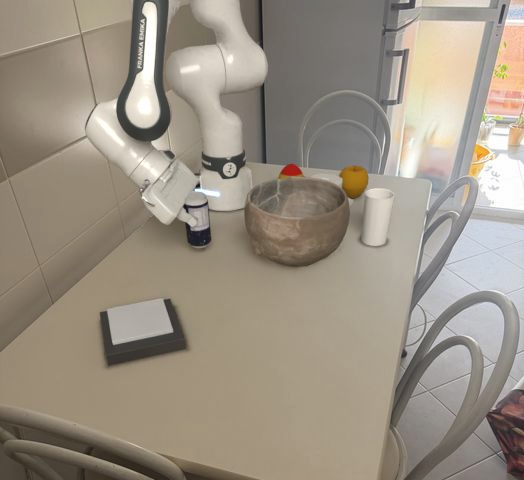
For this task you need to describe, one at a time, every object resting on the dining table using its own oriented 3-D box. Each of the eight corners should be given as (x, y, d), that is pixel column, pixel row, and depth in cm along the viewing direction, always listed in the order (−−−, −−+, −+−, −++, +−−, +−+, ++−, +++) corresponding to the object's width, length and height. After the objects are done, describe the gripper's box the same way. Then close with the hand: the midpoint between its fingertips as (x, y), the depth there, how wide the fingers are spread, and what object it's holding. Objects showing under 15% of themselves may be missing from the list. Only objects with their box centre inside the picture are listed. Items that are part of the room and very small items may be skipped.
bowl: (227, 270, 112) (223, 207, 103) (266, 225, 129) (265, 168, 120) (330, 289, 105) (335, 224, 95) (356, 239, 122) (363, 180, 113)
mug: (383, 248, 119) (391, 201, 111) (356, 244, 121) (362, 197, 113) (392, 231, 126) (399, 185, 118) (366, 227, 128) (372, 181, 120)
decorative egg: (296, 206, 138) (297, 171, 132) (271, 201, 141) (271, 166, 135) (309, 196, 143) (311, 162, 137) (285, 191, 147) (286, 157, 140)
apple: (348, 205, 138) (351, 174, 133) (330, 195, 144) (333, 164, 138) (372, 198, 141) (376, 168, 136) (354, 189, 147) (357, 159, 142)
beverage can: (215, 240, 118) (211, 192, 110) (205, 251, 114) (201, 202, 106) (194, 236, 120) (188, 188, 112) (183, 247, 116) (177, 198, 108)
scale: (102, 321, 98) (98, 308, 96) (171, 308, 101) (169, 295, 99) (108, 365, 87) (104, 352, 85) (185, 348, 91) (183, 335, 89)
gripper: (144, 181, 98) (197, 229, 103) (173, 146, 113) (217, 190, 118) (127, 201, 101) (179, 247, 106) (157, 165, 116) (201, 206, 122)
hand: (199, 216), depth 112 cm, fingers closed on beverage can, 5 cm apart
